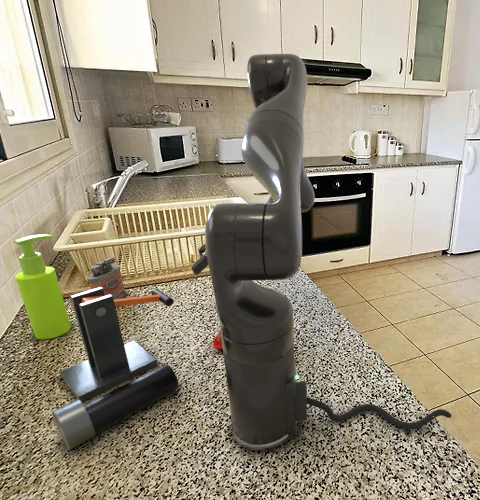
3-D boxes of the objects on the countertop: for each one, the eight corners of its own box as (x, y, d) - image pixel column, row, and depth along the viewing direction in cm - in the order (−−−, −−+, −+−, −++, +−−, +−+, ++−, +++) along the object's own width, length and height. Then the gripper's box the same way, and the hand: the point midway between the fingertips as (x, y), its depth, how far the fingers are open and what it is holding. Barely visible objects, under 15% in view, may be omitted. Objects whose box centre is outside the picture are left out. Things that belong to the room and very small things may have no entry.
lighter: (103, 309, 84) (93, 269, 80) (90, 308, 84) (80, 267, 81) (130, 293, 91) (121, 255, 88) (118, 291, 92) (109, 254, 88)
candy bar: (248, 310, 85) (247, 298, 84) (263, 312, 84) (262, 300, 83) (209, 353, 70) (207, 339, 69) (227, 355, 70) (226, 342, 69)
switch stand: (135, 345, 72) (120, 275, 67) (157, 365, 67) (143, 291, 61) (61, 377, 63) (36, 300, 58) (80, 403, 58) (55, 321, 53)
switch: (158, 298, 71) (160, 286, 71) (173, 307, 68) (174, 295, 68) (77, 308, 61) (78, 294, 61) (89, 320, 58) (90, 305, 57)
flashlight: (165, 379, 63) (159, 352, 61) (182, 395, 60) (177, 366, 58) (59, 435, 52) (48, 404, 50) (73, 458, 49) (62, 425, 47)
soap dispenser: (82, 326, 77) (56, 235, 70) (42, 342, 72) (10, 246, 65) (68, 318, 80) (43, 229, 73) (29, 333, 75) (-2, 239, 68)
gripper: (229, 211, 86) (177, 254, 75) (282, 227, 81) (235, 275, 70) (235, 236, 91) (188, 280, 80) (285, 252, 86) (243, 301, 75)
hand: (210, 278), depth 75 cm, fingers open, 8 cm apart
